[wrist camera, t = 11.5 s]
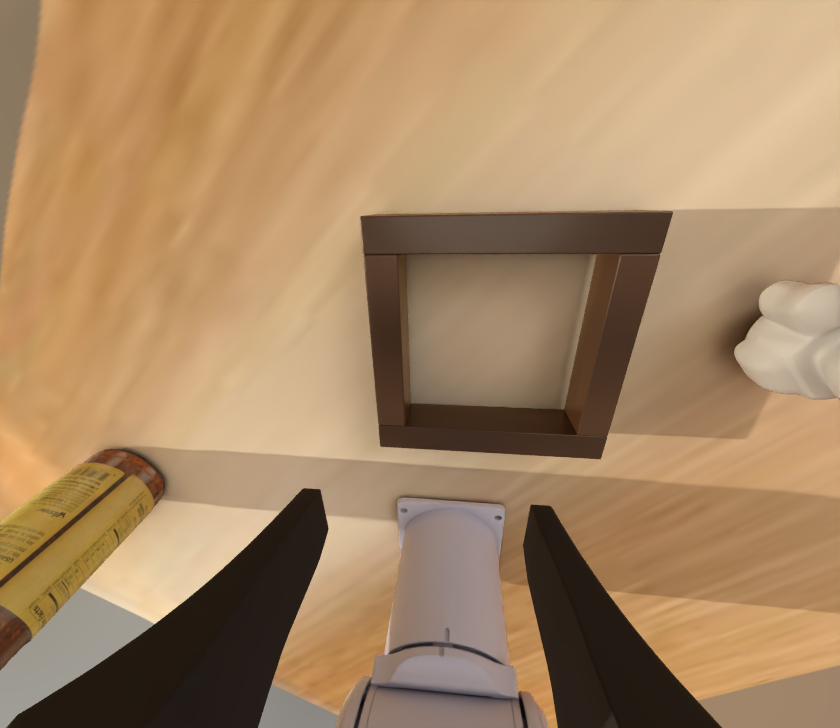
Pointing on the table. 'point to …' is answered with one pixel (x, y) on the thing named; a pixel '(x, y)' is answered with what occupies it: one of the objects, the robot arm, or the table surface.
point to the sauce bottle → (68, 538)
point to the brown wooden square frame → (598, 345)
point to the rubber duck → (795, 340)
